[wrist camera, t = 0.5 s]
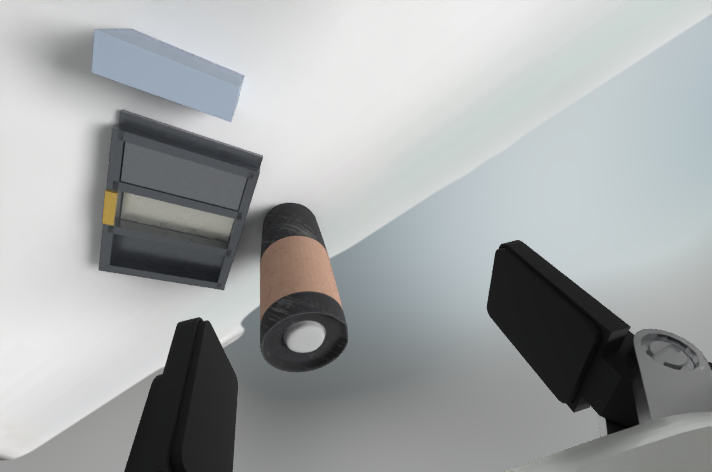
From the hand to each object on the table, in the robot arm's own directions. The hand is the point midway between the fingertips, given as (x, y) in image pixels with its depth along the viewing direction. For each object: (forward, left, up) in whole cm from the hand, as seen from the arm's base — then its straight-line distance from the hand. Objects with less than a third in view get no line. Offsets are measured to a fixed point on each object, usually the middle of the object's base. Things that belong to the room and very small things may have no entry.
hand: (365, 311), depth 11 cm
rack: (+16, -9, -32) cm, 36 cm away
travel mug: (+14, +4, -32) cm, 35 cm away
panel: (0, -11, -32) cm, 33 cm away
